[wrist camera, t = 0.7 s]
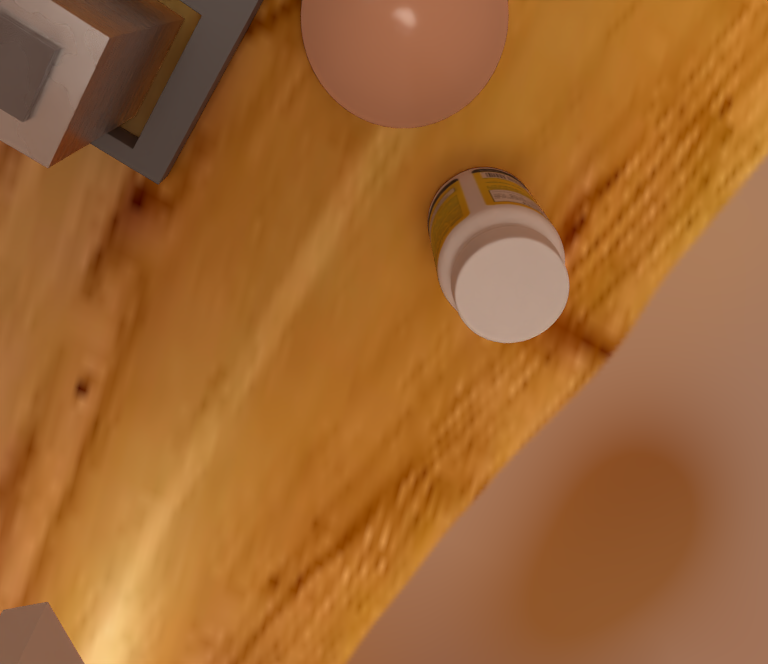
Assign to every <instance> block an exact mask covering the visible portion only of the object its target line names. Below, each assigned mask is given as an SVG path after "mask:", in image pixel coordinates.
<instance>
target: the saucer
mask: <svg viewBox="0 0 768 664" xmlns="http://www.w3.org/2000/svg"><path fill="white" fill-rule="evenodd" d="M301 30H302V36H303V42H304V46H305V50H306V53H307V57H308V59H309V62H310V64H311V66H312V69H313V71H314V73H315V74H316V76H317V78H318V79H319V81H320V83H321V84H322V85H323V87H324V88H325V89H326V91H327V92H328V93H329V94H330V95H331V96H332V97H333V98H334V99H335V100H336V101H337V102H338V103H339V104H340V105H341V106H343V107H344V108H345V109H346V110H348V111H349V112H351V113H352V114H354V115H356V116H358V117H359V118H361V119H364V120H366V121H368V122H371V123H374V124H377V125H381V126H385V127H393V128H414V127H422V126H426V125H429V124H433V123H436V122H438V121H441V120H443V119H446V118H448V117H449V116H451V115H453V114H455V113H456V112H458V111H459V110H461V109H462V108H463V107H465V106H466V105H467V104H469V103H470V102H471V101H472V100H473V99H474V98H475V97H476V96H477V95H478V94H479V93H480V91H481V90H482V89H483V88H484V86H485V85H486V84H487V82H488V81H489V79H490V77H491V76H492V74H493V73H494V71H495V69H496V67H497V64H498V62H499V60H500V58H501V54H502V51H503V48H504V45H505V40H506V35H507V30H508V0H302V6H301Z"/></svg>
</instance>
